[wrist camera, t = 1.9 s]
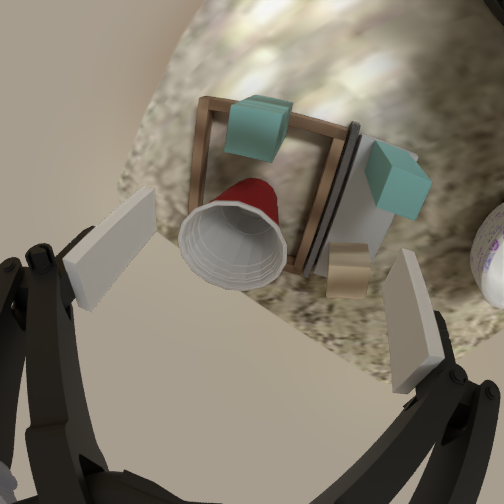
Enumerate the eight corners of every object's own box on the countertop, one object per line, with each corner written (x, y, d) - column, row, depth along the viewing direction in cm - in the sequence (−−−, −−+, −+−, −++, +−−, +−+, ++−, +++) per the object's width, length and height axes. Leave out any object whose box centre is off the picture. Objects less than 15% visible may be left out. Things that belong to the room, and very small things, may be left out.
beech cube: (329, 241, 37) (329, 265, 33) (367, 243, 36) (371, 267, 32) (327, 272, 40) (326, 297, 36) (362, 274, 39) (364, 299, 35)
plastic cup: (268, 248, 42) (248, 310, 32) (202, 206, 40) (163, 258, 31) (316, 192, 35) (310, 247, 26) (241, 142, 34) (206, 178, 24)
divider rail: (352, 121, 29) (353, 123, 28) (359, 123, 29) (360, 125, 28) (303, 269, 43) (302, 276, 41) (308, 271, 43) (307, 278, 41)
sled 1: (207, 84, 30) (160, 95, 21) (349, 116, 29) (361, 138, 20) (192, 235, 43) (158, 284, 34) (301, 266, 42) (291, 324, 33)
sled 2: (361, 133, 29) (375, 159, 21) (415, 153, 29) (446, 188, 21) (313, 268, 42) (307, 322, 34) (358, 281, 41) (361, 335, 33)
